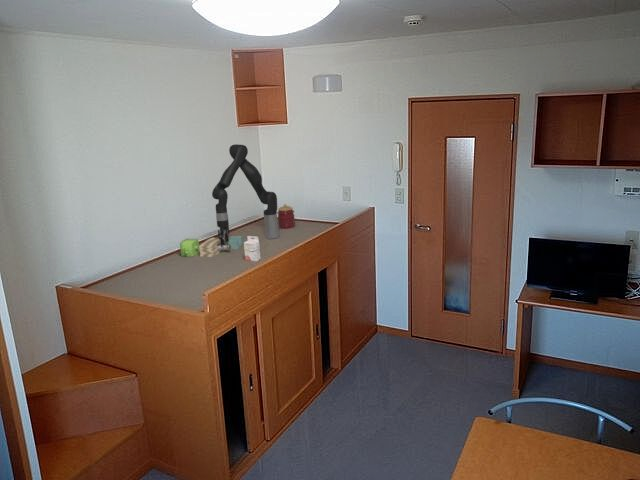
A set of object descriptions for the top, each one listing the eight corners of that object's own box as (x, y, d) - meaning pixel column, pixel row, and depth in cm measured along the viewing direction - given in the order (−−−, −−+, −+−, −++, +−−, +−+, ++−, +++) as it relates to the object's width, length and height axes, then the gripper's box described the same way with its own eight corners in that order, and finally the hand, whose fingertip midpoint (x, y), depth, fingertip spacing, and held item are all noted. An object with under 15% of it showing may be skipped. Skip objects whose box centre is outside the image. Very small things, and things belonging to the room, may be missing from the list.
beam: (224, 248, 365) (223, 237, 363) (213, 256, 346) (212, 245, 344) (211, 248, 367) (210, 237, 365) (200, 256, 348) (199, 245, 346)
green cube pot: (192, 259, 346) (190, 245, 344) (178, 258, 348) (176, 244, 345) (203, 250, 363) (202, 237, 360) (190, 250, 365) (188, 236, 362)
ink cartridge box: (245, 260, 333) (242, 237, 329) (249, 258, 337) (246, 235, 334) (256, 261, 329) (254, 238, 326) (261, 259, 334) (258, 236, 330)
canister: (294, 228, 408) (292, 205, 404) (277, 229, 409) (275, 206, 404) (295, 224, 421) (293, 202, 416) (279, 225, 421) (277, 203, 417)
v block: (243, 243, 373) (242, 236, 372) (237, 248, 361) (236, 241, 360) (232, 243, 375) (231, 236, 374) (225, 249, 363) (224, 241, 361)
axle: (231, 248, 356) (230, 243, 354) (229, 251, 352) (228, 246, 350) (205, 248, 359) (204, 243, 357) (203, 251, 356) (202, 246, 354)
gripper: (224, 221, 342) (226, 246, 346) (231, 216, 355) (233, 240, 359) (212, 221, 343) (215, 246, 347) (220, 217, 357) (223, 240, 361)
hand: (224, 243), depth 353 cm, fingers open, 8 cm apart
